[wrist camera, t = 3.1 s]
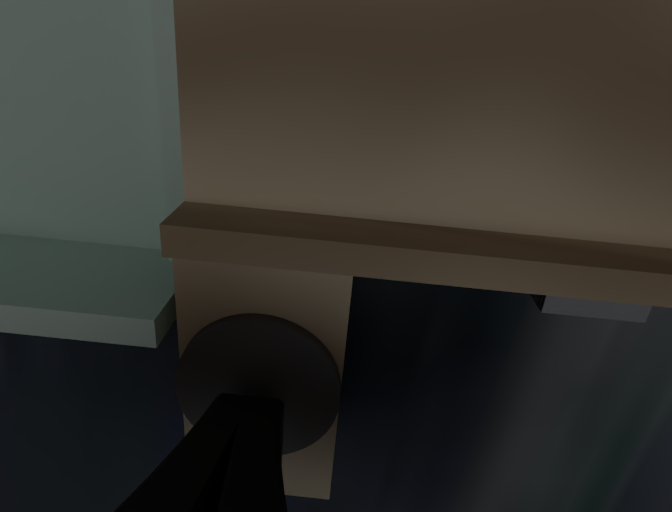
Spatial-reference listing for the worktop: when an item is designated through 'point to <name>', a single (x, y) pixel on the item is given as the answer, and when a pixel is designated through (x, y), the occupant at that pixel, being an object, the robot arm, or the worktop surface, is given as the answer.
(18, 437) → the worktop surface
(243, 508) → the robot arm
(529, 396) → the worktop surface
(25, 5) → the tray
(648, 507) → the worktop surface
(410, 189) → the wooden ramp
